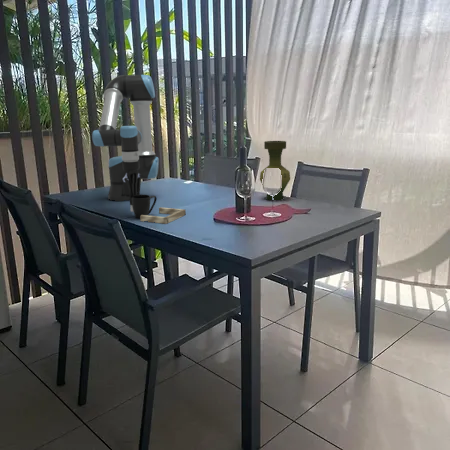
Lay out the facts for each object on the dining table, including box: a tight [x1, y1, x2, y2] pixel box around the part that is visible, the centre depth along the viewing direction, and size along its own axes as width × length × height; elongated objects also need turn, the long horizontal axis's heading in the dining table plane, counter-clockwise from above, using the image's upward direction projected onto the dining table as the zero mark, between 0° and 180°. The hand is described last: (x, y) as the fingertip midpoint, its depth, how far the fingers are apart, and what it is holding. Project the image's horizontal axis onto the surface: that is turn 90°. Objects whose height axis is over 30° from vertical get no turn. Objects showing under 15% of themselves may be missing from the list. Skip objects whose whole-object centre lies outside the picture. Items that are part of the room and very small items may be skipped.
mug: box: [132, 194, 157, 219], centre depth 205 cm, size 8×12×10 cm
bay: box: [139, 206, 187, 225], centre depth 203 cm, size 14×17×2 cm
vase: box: [259, 140, 291, 201], centre depth 234 cm, size 16×16×30 cm
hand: (134, 211), depth 209 cm, fingers closed
